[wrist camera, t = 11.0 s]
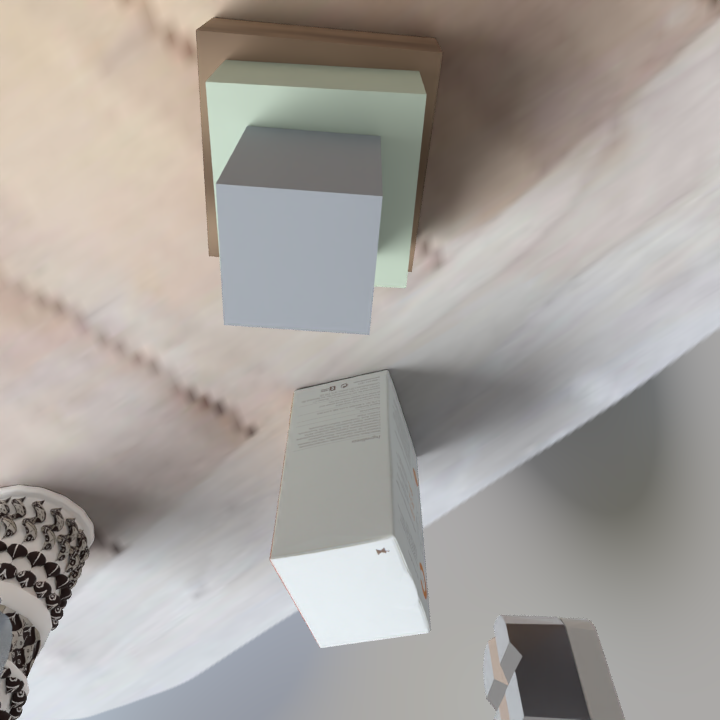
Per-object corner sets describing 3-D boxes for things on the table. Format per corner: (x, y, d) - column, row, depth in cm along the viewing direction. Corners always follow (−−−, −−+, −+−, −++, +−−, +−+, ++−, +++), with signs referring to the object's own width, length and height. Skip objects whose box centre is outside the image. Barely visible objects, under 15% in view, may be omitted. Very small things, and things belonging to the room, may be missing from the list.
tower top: (225, 59, 27) (205, 81, 23) (419, 70, 27) (426, 94, 24) (236, 239, 31) (221, 278, 28) (401, 247, 31) (406, 287, 28)
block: (247, 125, 24) (215, 183, 19) (380, 136, 24) (382, 196, 19) (250, 247, 27) (224, 324, 22) (369, 256, 27) (369, 334, 22)
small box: (291, 388, 41) (265, 559, 30) (389, 366, 40) (397, 535, 29) (330, 476, 45) (319, 652, 35) (418, 459, 44) (435, 634, 34)
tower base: (215, 16, 29) (195, 29, 26) (434, 36, 30) (442, 52, 26) (223, 223, 35) (209, 256, 32) (407, 238, 35) (411, 271, 32)
